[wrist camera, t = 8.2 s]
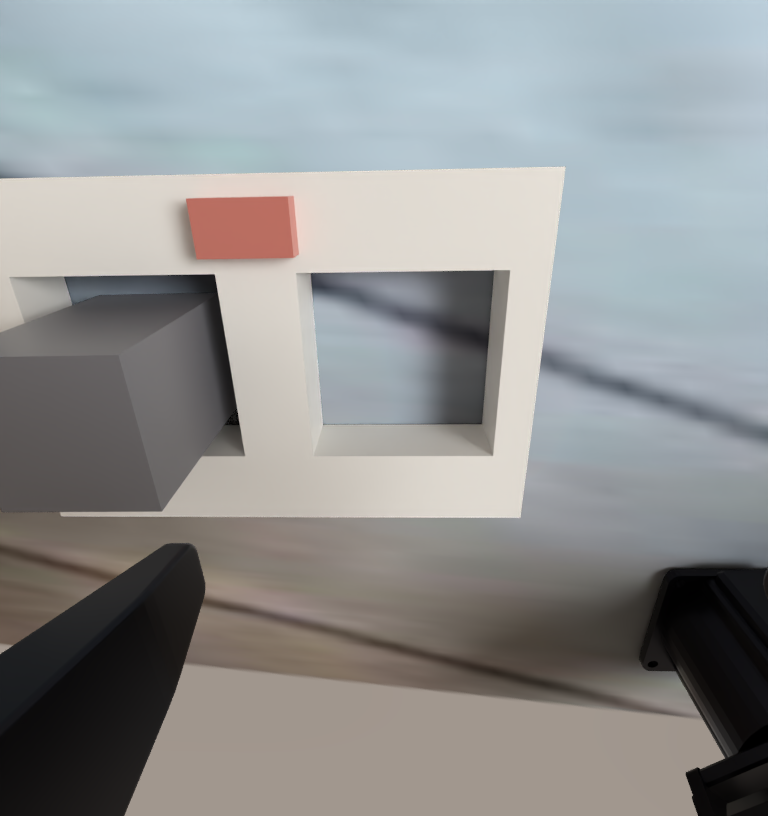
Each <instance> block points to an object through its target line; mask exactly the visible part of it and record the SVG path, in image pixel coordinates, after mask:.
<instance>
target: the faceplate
mask: <svg viewBox="0 0 768 816" xmlns="http://www.w3.org/2000/svg"><path fill="white" fill-rule="evenodd" d="M565 168H566V167H528V168H481V169H434V170H387V171H340V172H292V173H245V174H198V175H151V176H103V177H56V178H9V179H0V332H3V331H5V330H8V329H11V328H13V327H16V326H19V325H21V324H24V323H27V322H29V321H32V320H35V319H37V318H40V317H43V316H45V315H48V314H51V313H53V312H56V311H59V310H61V309H64V308H67V307H69V306H72V302H71V298H70V295H69V292H68V288H67V285H66V282H65V278H64V276H125V275H196V274H215V278H216V284H217V290H218V296H219V302H220V308H221V314H222V320H223V326H224V332H225V338H226V344H227V350H228V356H229V362H230V368H231V374H232V380H233V386H234V392H235V398H236V404H237V410H238V416H239V422H240V425H224V426H223V427H222V429H221V430H220V432H219V433H218V434H217V436H216V437H215V438H214V440H213V441H212V443H211V444H210V445H209V447H208V448H207V450H206V451H205V452H204V454H203V455H202V457H201V458H200V459H199V461H198V462H197V464H196V465H195V466H194V468H193V469H192V470H191V472H190V473H189V475H188V476H187V477H186V479H185V480H184V482H183V483H182V484H181V486H180V487H179V489H178V490H177V491H176V493H175V494H174V495H173V497H172V498H171V500H170V501H169V502H168V504H167V505H166V507H165V508H164V509H163V511H162V512H60V515H61V516H62V517H414V518H520V516H521V509H522V501H523V493H524V485H525V478H526V470H527V462H528V454H529V447H530V439H531V431H532V423H533V416H534V408H535V400H536V392H537V385H538V377H539V369H540V361H541V354H542V346H543V338H544V331H545V323H546V315H547V307H548V300H549V292H550V284H551V276H552V269H553V261H554V253H555V245H556V238H557V230H558V222H559V214H560V207H561V199H562V191H563V184H564V176H565ZM479 270H494V279H493V292H492V305H491V317H490V330H489V343H488V356H487V368H486V381H485V394H484V406H483V419H482V424H391V425H323V418H322V405H321V393H320V381H319V369H318V357H317V345H316V332H315V320H314V308H313V296H312V284H311V273H337V272H408V271H479Z"/></svg>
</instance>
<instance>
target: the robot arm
mask: <svg viewBox="0 0 768 816" xmlns="http://www.w3.org/2000/svg"><path fill="white" fill-rule="evenodd" d="M677 580H678V581H677ZM204 595H205V580H204V576H203V572H202V568H201V564H200V561H199V557H198V553H197V550H196V548H195V546H194V545H193V544H190V543H170V544H166V545H164V546H162V547H161V548H159V549H158V550H156V551H155V552H153V553H152V554H150V555H149V556H147V557H146V558H144V559H143V560H141V561H140V562H138V563H137V564H135V565H134V566H132V567H131V568H129V569H128V570H126V571H125V572H123V573H122V574H120V575H119V576H117V577H116V578H114V579H113V580H111V581H110V582H108V583H107V584H105V585H104V586H102V587H101V588H99V589H98V590H96V591H95V592H93V593H92V594H90V595H89V596H87V597H86V598H84V599H83V600H81V601H80V602H78V603H77V604H75V605H74V606H72V607H71V608H69V609H68V610H66V611H65V612H63V613H62V614H60V615H59V616H57V617H56V618H54V619H53V620H51V621H50V622H48V623H47V624H45V625H44V626H42V627H41V628H39V629H38V630H36V631H34V632H33V633H31V634H30V635H28V636H27V637H25V638H24V639H22V640H21V641H19V642H18V643H16V644H15V645H13V646H12V647H10V648H9V649H8V650H6V651H4V652H3V653H1V654H0V816H124V815H125V812H126V810H127V808H128V805H129V803H130V800H131V798H132V796H133V793H134V791H135V788H136V786H137V784H138V781H139V779H140V776H141V774H142V771H143V769H144V767H145V764H146V762H147V759H148V757H149V755H150V752H151V750H152V747H153V745H154V743H155V740H156V738H157V735H158V733H159V730H160V728H161V725H162V723H163V720H164V718H165V716H166V713H167V711H168V709H169V706H170V703H171V701H172V698H173V696H174V693H175V690H176V687H177V684H178V681H179V678H180V675H181V672H182V668H183V665H184V662H185V659H186V655H187V652H188V649H189V645H190V642H191V639H192V635H193V632H194V629H195V625H196V622H197V619H198V616H199V612H200V609H201V606H202V602H203V599H204ZM639 660H640V662H641V664H642V666H643V668H644V669H646V670H648V671H676V673H677V674H678V676H679V678H680V680H681V681H682V683H683V685H684V687H685V688H686V690H687V692H688V694H689V695H690V697H691V699H692V701H693V702H694V704H695V706H696V708H697V710H698V711H699V713H700V715H701V717H702V718H703V720H704V722H705V724H706V725H707V727H708V729H709V730H710V732H711V734H712V736H713V738H714V739H715V741H716V743H717V745H718V746H719V748H720V750H721V752H722V754H723V755H724V757H725V759H723V760H721V761H718V762H716V763H714V764H711V765H709V766H707V767H705V768H702V769H699V768H695V769H693V770H690V771H688V772H686V777H687V779H688V782H689V785H690V788H691V791H692V794H693V796H692V799H693V803H694V805H695V808H696V811H697V813H698V816H768V568H767V570H715V569H676V570H672V571H669V572H668V573H667V574H666V575H665V577H664V579H663V583H662V586H661V589H660V592H659V595H658V599H657V602H656V605H655V608H654V612H653V615H652V618H651V621H650V624H649V628H648V631H647V634H646V637H645V641H644V644H643V647H642V650H641V653H640V657H639Z"/></svg>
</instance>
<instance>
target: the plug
mask: <svg viewBox="0 0 768 816" xmlns="http://www.w3.org/2000/svg"><path fill="white" fill-rule="evenodd" d="M236 408H237V404H236V398H235V392H234V386H233V380H232V374H231V368H230V362H229V356H228V350H227V344H226V338H225V332H224V326H223V320H222V314H221V308H220V302H219V296H218V293H177V294H129V295H99V296H96V297H93V298H91V299H88V300H85V301H83V302H80V303H77V304H75V305H72V306H69V307H67V308H64V309H61V310H59V311H56V312H53V313H51V314H48V315H45V316H43V317H40V318H37V319H35V320H32V321H29V322H27V323H24V324H21V325H19V326H16V327H13V328H11V329H8V330H5V331H3V332H0V509H1V511H2V512H162V511H163V509H164V508H165V507H166V505H167V504H168V502H169V501H170V500H171V498H172V497H173V495H174V494H175V493H176V491H177V490H178V489H179V487H180V486H181V484H182V483H183V482H184V480H185V479H186V477H187V476H188V475H189V473H190V472H191V470H192V469H193V468H194V466H195V465H196V464H197V462H198V461H199V459H200V458H201V457H202V455H203V454H204V452H205V451H206V450H207V448H208V447H209V445H210V444H211V443H212V441H213V440H214V438H215V437H216V436H217V434H218V433H219V432H220V430H221V429H222V427H223V426H224V425H225V423H226V422H227V420H228V419H229V418H230V416H231V415H232V413H233V412H234V411H235V409H236Z"/></svg>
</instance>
